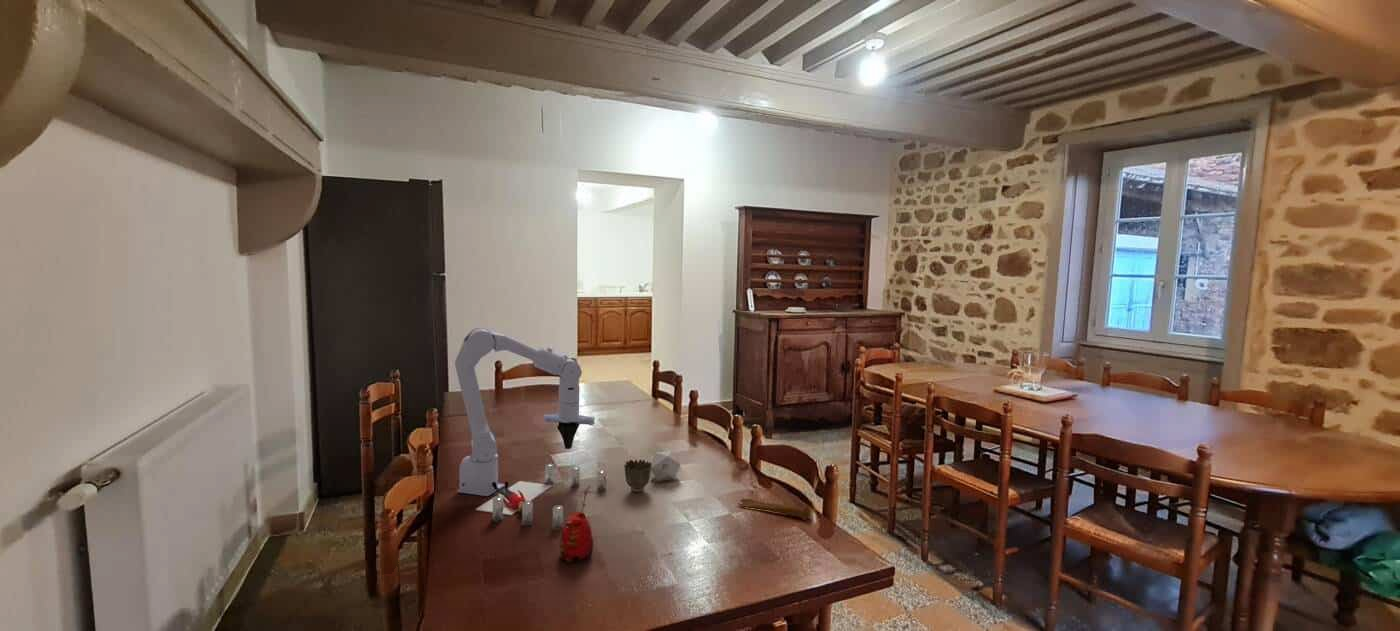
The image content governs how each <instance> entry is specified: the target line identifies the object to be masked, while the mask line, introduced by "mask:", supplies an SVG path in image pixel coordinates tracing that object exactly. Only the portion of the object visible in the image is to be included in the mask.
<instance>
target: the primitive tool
mask: <svg viewBox="0 0 1400 631" xmlns="http://www.w3.org/2000/svg"><path fill="white" fill-rule="evenodd" d="M740 501H741V502H743V503H742V504H740V503H739V502H738V503H739V506H741V507H748V508H755V509H761V510H769V511H773V512H779V513H783V514H787V515H793V516H797V517H796V518H798V517H801V518H803V519H806V518H808V517H810V511H809V508H808V506H806V505H805V506H803V507H802V506H801V507H800V506H798V507H797V506H793V505H792V506H790V505H783V504H779V503H778V504H775V503H769V502H762V501H759V500H754V499H752V498H750V499H749V498H741V500H740ZM787 515H786V516H787ZM801 518H800V519H801ZM808 519H809V518H808Z"/></svg>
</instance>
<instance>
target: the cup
mask: <svg viewBox="0 0 1400 631" xmlns="http://www.w3.org/2000/svg"><path fill="white" fill-rule="evenodd" d="M651 462H652V461H649V460H647V461H645V459H643V460H642V459H639V461H638V459H634V460H633V459H630V460H626V461H625V463H624V465H623V466H624V474H625V481H626V484H627V485H628V486H629V487H630V492H631V493H634V494H641V493H644V491H645V487H646V486H647V485H648V483H649V481H650V478H651V473H652V471H651Z"/></svg>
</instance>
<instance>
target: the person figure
mask: <svg viewBox="0 0 1400 631" xmlns="http://www.w3.org/2000/svg"><path fill="white" fill-rule="evenodd" d="M504 484H505V486H504V490H503V489H502V488H501V489H499V488H498V487H497V485H496V483H495V482H493V483H492V486H493V487H494V489H495V490H496V492H498V494H501V495H503V496H504V497H503V496H502V497H503V502H504V503H505V505H506V506H507V507H509V508H511V509H517V508H519V510H518V512H519V513H520V514H522V503H523V502H525V501H526V500H525V498H524V496H523V494H522V492H521V491H520V490H519V491H518V492H519V493H520V496H521V497H519V496H518V495H517V494H516V493H514V492H512V491H510V490H509V489H508V488H509V482H508V481H505V482H504ZM504 491H506V492H507V493H506V492H504ZM505 498H506V499H507V500H508V501H509V502H512V505H510V504H508V502H507V501H506V500H505Z"/></svg>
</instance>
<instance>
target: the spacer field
mask: <svg viewBox="0 0 1400 631" xmlns="http://www.w3.org/2000/svg"><path fill="white" fill-rule="evenodd" d="M544 466H545V467H544V469H545V471H544V472H545V474H544V478H545V479H544V483H545V485H551V484H554V483H555V464H554V463H547V464H545V465H544ZM580 468H581V467H579V466H573V467H571V469H570V486H571V488H579V487H581V486H580V485H581V484H580V478H581V476H580V474H581V469H580ZM596 477H597V482H596V483H597V484H596V490H597V491H598V492H604V491H606V490H607V470H604V469H601V470H598V471H597V476H596ZM494 497H495V498H494ZM494 497H492V498H493V513H492V520H493V521H494V522H500V521H502V520H504V515H503V497H496V496H494ZM533 504H534V502H533V500H532V501H525V502H523V503H522V513H521V517H522V520H521V524H522V526H532V524H533V522H534V519H533V518H534V517H533V516H534V509H533V508H534V505H533ZM563 525H564V506H563V505H558V504H557V505H554V506H553V507H552V530H553V531H562V526H563Z"/></svg>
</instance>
